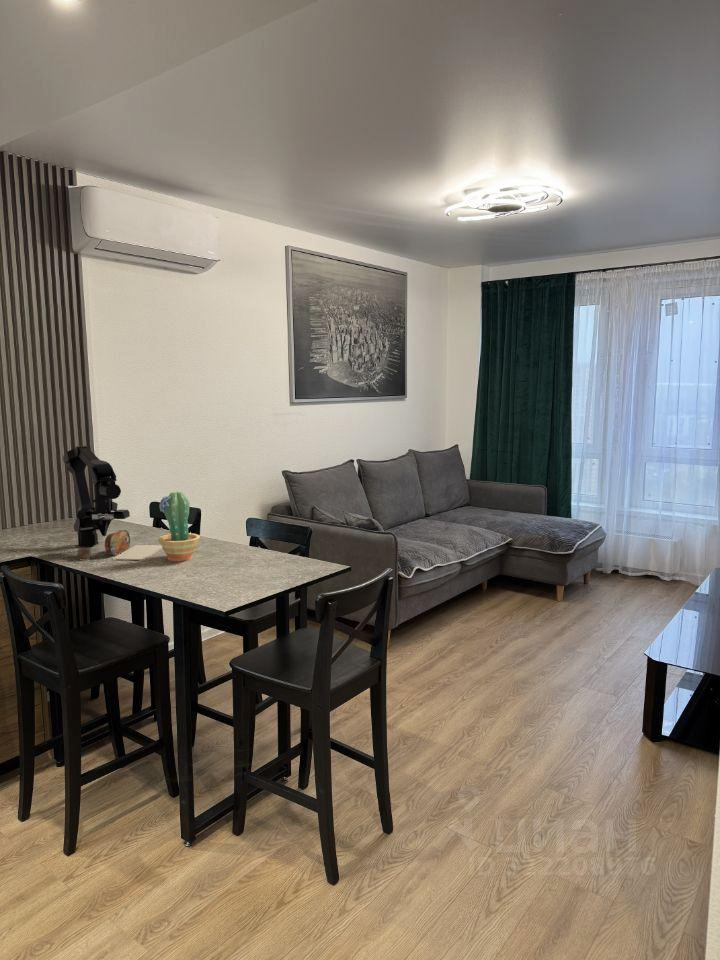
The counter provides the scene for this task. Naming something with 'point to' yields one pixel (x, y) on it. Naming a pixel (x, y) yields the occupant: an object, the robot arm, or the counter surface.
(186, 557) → the potted cactus
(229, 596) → the counter surface
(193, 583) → the counter surface
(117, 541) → the tin
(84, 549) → the walnut block
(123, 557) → the mat
